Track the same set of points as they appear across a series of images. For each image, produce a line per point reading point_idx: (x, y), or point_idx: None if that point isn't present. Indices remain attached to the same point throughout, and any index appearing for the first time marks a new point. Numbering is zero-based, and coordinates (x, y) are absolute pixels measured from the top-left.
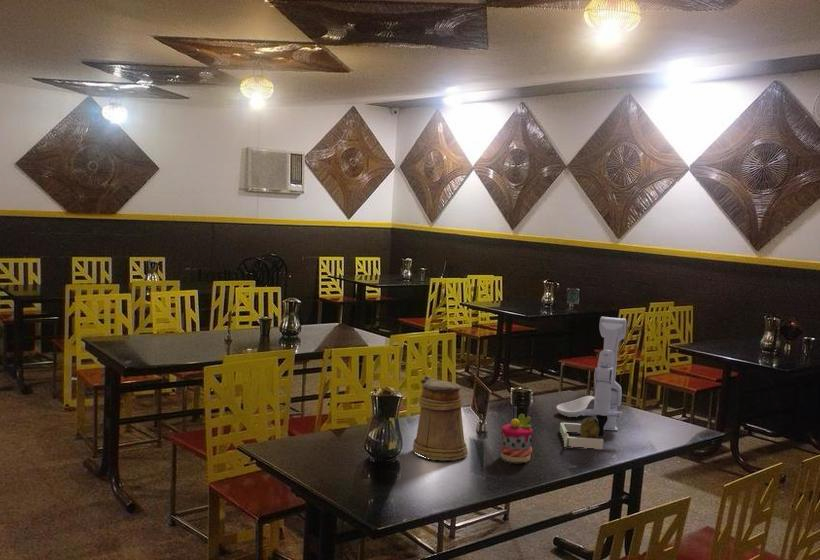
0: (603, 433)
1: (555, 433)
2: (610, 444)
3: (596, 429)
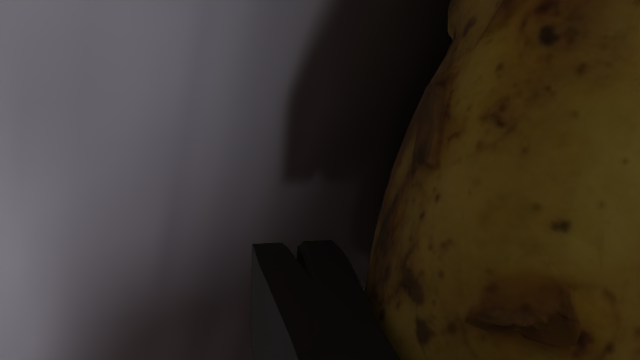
0: (263, 264)
1: None
2: (130, 126)
3: (606, 104)
